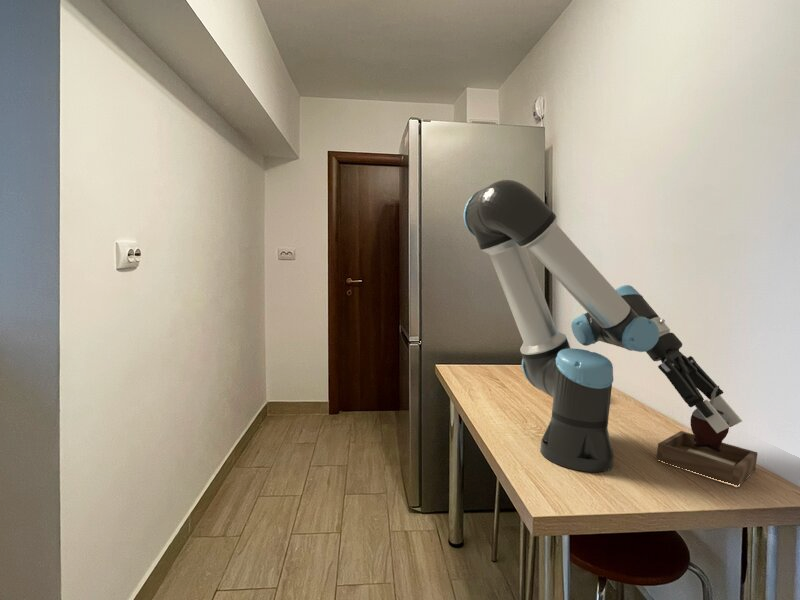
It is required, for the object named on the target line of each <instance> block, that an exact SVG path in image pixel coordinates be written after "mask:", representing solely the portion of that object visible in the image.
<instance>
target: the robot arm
mask: <svg viewBox="0 0 800 600" xmlns="http://www.w3.org/2000/svg"><path fill="white" fill-rule="evenodd" d="M557 217H558V216H557V215H556V214H555V213H554V211H552V210H551V208H550V207H549V206H548V205H547V204H546V203H545V201H543V200H542V198H540V197H539V196H538V195H537V194H536V193H535V192H534V191H533V190H531V189H530V187H528V186H527V185H524V184H523V183H521V182H518V181H516V180H511V179H502V180H498V181H495V182H493V183H492V184H490V185H488V186H487V187H484V188H481V189H480V190H477V191H476V192H475V193H473V195H472V196H471V197H470V198H469V199H468V200H467V202H466V204H465V207H464V210H463V222H464V225H465V227H466V228H467V230H468V231H469V233H470V234H471V235H473V236H474V237H475V239H476V241H477V244H478V246H479V249H480V251H481V252H483V253H485V254H487V255H489V257H490V259H491V262H492V265H493V267H494V270H495V273H496V274H497V277H498V280H499V283H500V285H501V288H502V291H503V293H504V296H505V299H506V300H507V304H508V306H509V308H510V309H509V310H510V311H511V313H512V316H513V318H514V322H515V324H516V327H517V329H518V332H519V335H520V337H521V339H522V345H521V346H520V348H519V349H520V353H521V356H522V359H521V370H522V373H523V375H524V377H525V378H526V380H527V381H528V382H529V383H530V384H531V385H532V386H533V387H535V388H536V389H538V390H539V391H542V392H543V393H545V394H547V395H548V396H550V397H552V407H551V417H550V421H549V423H548V425H547V428H546V430H545V431H544V434H543V436H542V438H541V442H540V453H541V455H542V456H543V457H544V458H545V459H547V460H548V461H550V462H552V463H554V464H556V465H559V466H561V467H564V468H568V469H571V470H575V471H580V470H581V472H589V473H590V472H591V473H594V472H595V473H598V472H597V471H601V472H605V471H604V470H606V471H609V470H611V469H612V468H613V467H614V459H615V458H614V457H615V454H614V450H613V447H612V446H613V445H612V442H611V438H610V433H609V429H608V428H609V427H608V426H609V417H610V407H611V397H612V389H613V383H614V367H613V363H612V361H611V360H610V358H608V357H606V356H604V355H602V354H601V353H597V352H594V351H589V350H587V349H582V348H572V347H571V345H570V343H569V341H568V338H567V335H566V334H565V333H562V332H560V331H558V330H557V328H556V327H557V326H556V325H555V322H554V319H553V316H552V314H551V311H550V308H549V306H548V303H547V301H546V297H545V295H544V293H543V289H542V287H541V284H540V282H539V279H538V277H537V274H536V271H535V269H534V266H533V263H532V260H531V258H530V254H529V252H528V250H529V251H530V252H531V253H532V254H533V255H534V256H535V257H536V259H538V261H539V262H540V264H542V265H543V266H544V267H545V268H546V269H547V270H548V271H549V272H550V274H552V276H553V277H554V278H555V279H556V280H557V281H558V282H559V283H560V284H561V285H562V287H564V289H565V290H566V291H567V292H568V293H569V294H570V295H571V296H572V297H573V299H575V301H577V302H578V304H580V306H581V307H582V308H583V309H584V310H585V311H586V312H585V313H582V314H581V315H580V316H577V317H575V318H574V319H573V320H572V321H571V324H570V328H571V331H572V334H573V337H574V338H575V339H576V341H577V342H578V343H579V344H580V345H582V346H584V347H588V346H591V345H592V344H593V345H594V344H596V343H599V342H602V343H604V344H609V345H612V346H616V347H618V348H622V349H625V350H628V351H631V352H632V351H633V352H639V353H643V352H645V353H646V354H647V355H648V356H649V358H650V359H651V360H652V361H653V362H659V361H661V364H659V365H658V366H657V368H658V369H659V370H660V371H661V372H662V373H663V374H664V375H665V376H666V378H667V380H668V381H669V382H670V383H671V385H672V386H673V387H674V389H675V390H676V392H677V393H678V394H679V396H680V397H681V399H682V400H683V401H684V402H685V403H686V404H687V406H688V407H689V408H693V407H695V409H698V410H699V412H700V413H701V414H702V415H703V417H704V418H705V419H706V420H707V422H708V423H709V424H710V425H711V426H712V428H713V429H714V430H715V431H716V433H719V432H721V431H723V430H725V429H727V428H729V429H730V428H732V427H734V426H736V425H738V424H739V423H742V422H743V420H742V419H741V417H740V416H739V415H738V414H737V413H736V411H735V410H734V409H733V408H732V407H731V406H730V405H729V403H727V401H726V400H725V399H724V397H722V395H723V394H724V390H722V389H721V388H720V387H719V388H718V390H717V391H716V396H715V398H714V402H713V406H712V405H711V403H710V401H711V394H712V392H713V391H714V389H715V388H716V386H718V385H717V384H716V383H715V381H714V380H713V379H712V378H711V377H710V376H709V375H708V374H707V373H706V371H704V370H703V368H702V367H701V366H700V365H699V364H698V363H697V361H696V360H695V358H694V357H693V356H692V355H689V356H686V355H684V354H683V353H682V352H681V351H680V350H681V348H682V347H683V342H682V341H681V340H680V339H679V337H677V336H676V334H675V333H674V332H671V329H670V328H669V326H668V325H667V324H666V323H665V322H666V319H664V318H661V317H660V315H658V314H657V313H656V311H655V310H654V308H652V306H651V305H650V304H649V303H648V302H647V300H646V299H645V298H644V296H643V295H642V294H641V293H640V292H639V291H638V290H637V289H635V288H634V286H632V285H630V284H624V285H621V286H619V287H617V288H616V289H615V288H614V287H613V285H612V284H611V283H610V282H609V281H608V280H607V279H606V278H605V276H604V275H603V274H602V273H601V272H600V271H599V270H598V268H596V266H595V265H594V264H593V263H592V262H591V261H590V260H589V259H588V257H586V255H585V254H584V253H583V252H582V251H581V249H580V248H579V247H577V245H576V244H575V243H574V242H573V241H572V240H571V238H570V237H569V236H568V235H567V234H566V233H565V232H564V231H563V229H562V228H561V227H560V225H558V224H557V219H558V218H557ZM527 249H528V250H527ZM702 394H703V395H704V396H705V397H706V398H707V399H704V398H705V397H703V395H702ZM716 410H719V411H721V412H723V413H725V415H726V416H727V418H728V423H729V425H728V424H727V423H726V421H725V420H724V419H723V418H722V417H721V415H720V414H719V413H718V412H717V411H716ZM612 466H613V467H612ZM611 467H612V468H611ZM610 468H611V469H610ZM608 469H609V470H608Z"/></svg>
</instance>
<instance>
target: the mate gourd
mask: <svg viewBox="0 0 800 600" xmlns="http://www.w3.org/2000/svg"><path fill="white" fill-rule="evenodd" d="M718 388H720V385H717V386H716V388H715V389H714V391H713V392H712V394H711V401H710V400H709V401H710V403H711V405H712V406H713V402H714V398H715V396H716V391H717V390H718ZM716 411H717V412H718V413H719V414H720V415H721V417H722V418H723V419H724V420H725V421H726V423H727V424H728V425H729V423H728V418H727V416H726V415H725V413H723V412H721V411H719V410H716ZM690 428H691V429H690V430H691V432H692V434H694V435H695V437H696V438H694V441H696V444H694V446H695V447H708V448H711V449H713V450H715V451H717V452H721V449H719V448H720V445H721V443H723V441H724V439H726V437H727V435H728V433H729V430H730V427H729V428H727V429H725V430H723V431H721V432H719V433H716V431H715V430H714V429H713V428H712V426H711V425H710V424H709V423H708V422H707V420H706V419H705V418H704V417H703V415H702V414H701V413H700V412H699V410H698V409H697V408H695V409H694V410H693V412H691V416H690Z"/></svg>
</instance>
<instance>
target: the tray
mask: <svg viewBox="0 0 800 600" xmlns="http://www.w3.org/2000/svg"><path fill="white" fill-rule="evenodd" d="M694 438H696V437H695V435H694V434H693V433H690V432H687V431H684V430H679V432H676V433H675V434H673V435H671V436H669V437H668V438H666V439H663V441H661V442H659V443H657V449H656V451H657V452H656V457H655V460H656V459H657V460H660V461H663V462H665V463H668V464H671V465H674V466H677V467H680V468H683V469H687V470H690V471H693V472H696V473H699V474H702V475H705V476H708V477H711V478H714V479H717V480H721V481H724V482H728V483H731V484H734V485H737V486H738V485H739V484H741V483H742V482H743V481H744V480H745V479H746V478H747V477H748V476H749V475H750V474H751V475H753V473H754V472H755V471H756V470H757V469H756V468H757V460H758V452H757V451H754V450H750V449H747V448H743V447H740V446H736V445H733V444H729V443H726V442H722V443H721V445H720V448H719V449H721V452H717V451H715V450H713V449H711V448H708V447H695V446H694V444H696V441H694ZM751 475H750V476H751ZM750 476H749V477H750ZM749 477H748V478H749ZM748 478H747V479H748ZM747 479H746V480H747ZM746 480H745V481H746ZM745 481H744V482H745ZM744 482H743V483H744ZM743 483H742V484H743Z"/></svg>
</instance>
